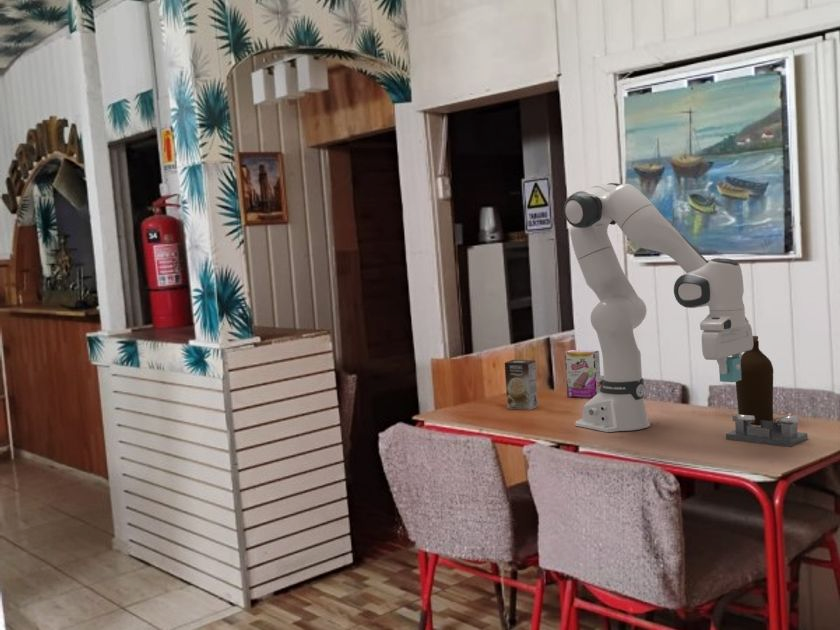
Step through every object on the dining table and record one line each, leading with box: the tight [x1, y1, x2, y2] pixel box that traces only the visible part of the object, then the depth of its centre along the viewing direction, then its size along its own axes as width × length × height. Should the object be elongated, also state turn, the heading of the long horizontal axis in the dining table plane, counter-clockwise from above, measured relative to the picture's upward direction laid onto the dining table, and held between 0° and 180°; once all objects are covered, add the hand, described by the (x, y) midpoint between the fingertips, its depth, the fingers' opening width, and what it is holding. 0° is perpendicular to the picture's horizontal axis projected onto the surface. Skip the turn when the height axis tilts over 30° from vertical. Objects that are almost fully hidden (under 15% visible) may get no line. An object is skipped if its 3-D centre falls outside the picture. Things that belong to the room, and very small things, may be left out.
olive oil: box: [735, 335, 774, 426], centre depth 272 cm, size 11×11×25 cm
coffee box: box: [504, 359, 539, 411], centre depth 319 cm, size 9×6×16 cm
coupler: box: [718, 356, 742, 383], centre depth 248 cm, size 5×4×6 cm
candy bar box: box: [564, 349, 602, 399], centre depth 330 cm, size 11×5×16 cm, turn 59°
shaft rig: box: [725, 413, 808, 448], centre depth 252 cm, size 18×10×7 cm, turn 43°
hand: (730, 371), depth 249 cm, fingers closed on coupler, 4 cm apart
